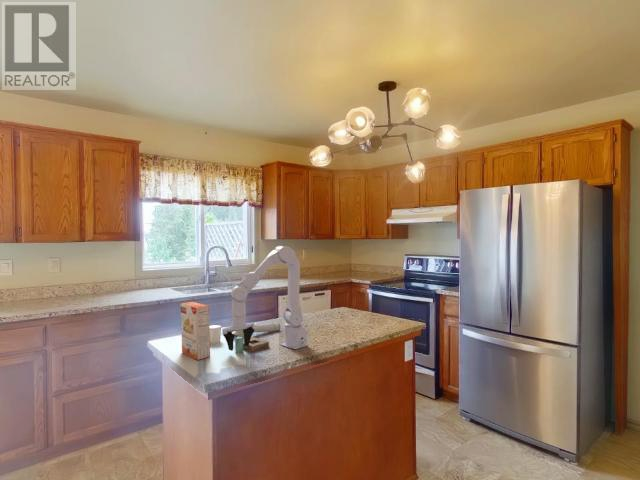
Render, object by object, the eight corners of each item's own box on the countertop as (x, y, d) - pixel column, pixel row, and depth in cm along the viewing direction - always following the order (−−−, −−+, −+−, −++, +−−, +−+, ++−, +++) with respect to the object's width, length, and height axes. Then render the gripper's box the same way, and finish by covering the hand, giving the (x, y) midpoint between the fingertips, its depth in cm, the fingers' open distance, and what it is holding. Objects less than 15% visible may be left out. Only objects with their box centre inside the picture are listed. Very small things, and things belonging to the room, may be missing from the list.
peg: (244, 352, 154) (244, 337, 154) (238, 354, 151) (238, 339, 151) (240, 350, 156) (240, 336, 156) (233, 352, 154) (233, 338, 153)
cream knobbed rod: (281, 323, 187) (238, 325, 170) (280, 337, 186) (236, 340, 170) (275, 321, 191) (232, 323, 174) (274, 335, 190) (230, 337, 173)
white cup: (223, 339, 173) (222, 324, 173) (219, 343, 166) (219, 328, 166) (208, 339, 173) (208, 324, 173) (204, 343, 166) (204, 328, 166)
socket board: (268, 347, 160) (268, 341, 160) (252, 352, 153) (251, 346, 153) (252, 341, 168) (251, 336, 168) (235, 346, 162) (235, 341, 162)
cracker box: (180, 353, 153) (180, 303, 153) (194, 349, 158) (193, 301, 157) (196, 361, 144) (195, 307, 143) (210, 357, 148) (209, 305, 147)
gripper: (247, 311, 161) (247, 342, 162) (218, 316, 151) (218, 349, 151) (257, 313, 157) (257, 345, 157) (227, 319, 146) (228, 353, 146)
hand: (238, 347), depth 153 cm, fingers open, 7 cm apart
